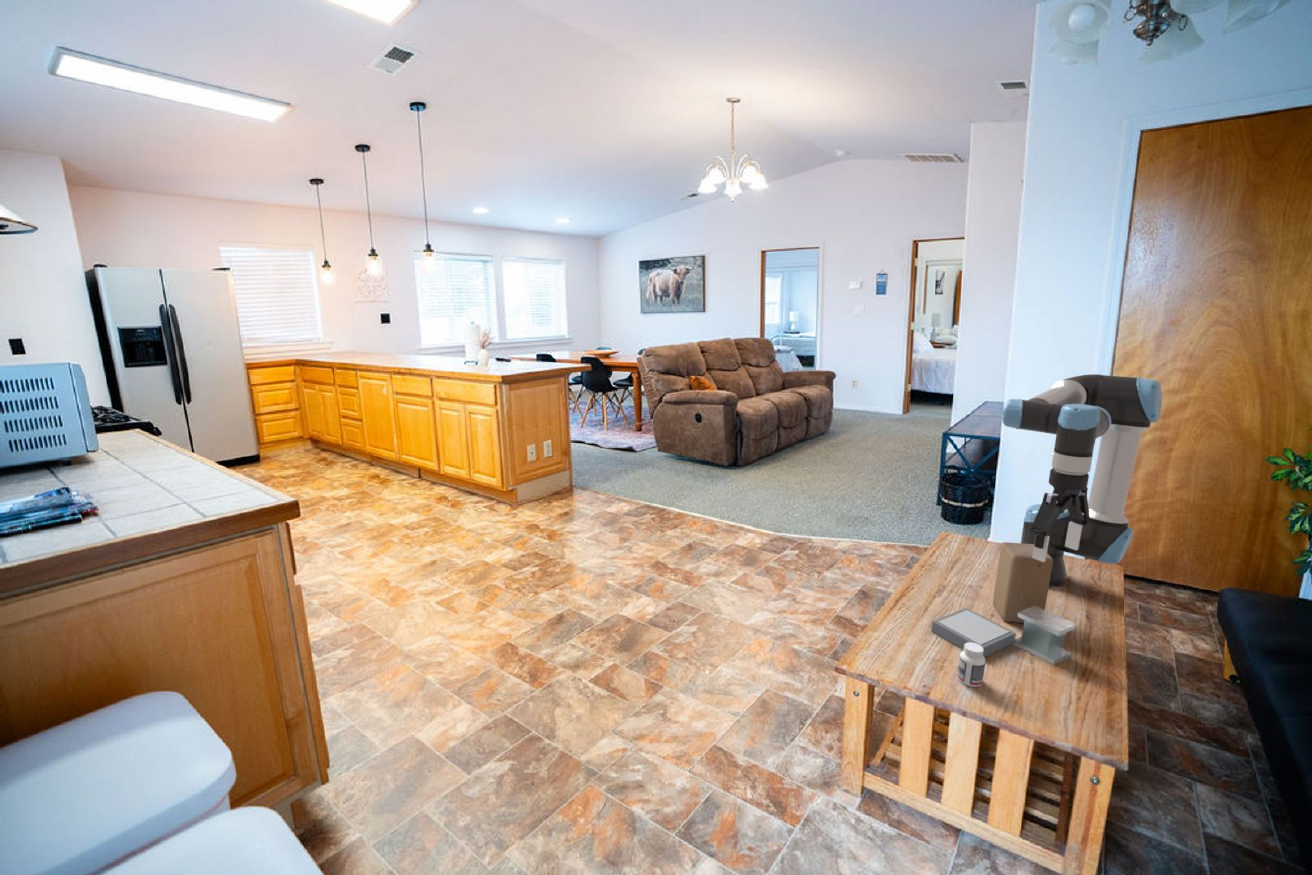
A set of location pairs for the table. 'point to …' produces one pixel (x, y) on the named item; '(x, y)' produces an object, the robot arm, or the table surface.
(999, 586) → the wooden block
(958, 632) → the stand
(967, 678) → the pill bottle
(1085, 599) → the table surface
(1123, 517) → the robot arm
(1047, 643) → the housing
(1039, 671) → the table surface
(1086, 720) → the table surface
